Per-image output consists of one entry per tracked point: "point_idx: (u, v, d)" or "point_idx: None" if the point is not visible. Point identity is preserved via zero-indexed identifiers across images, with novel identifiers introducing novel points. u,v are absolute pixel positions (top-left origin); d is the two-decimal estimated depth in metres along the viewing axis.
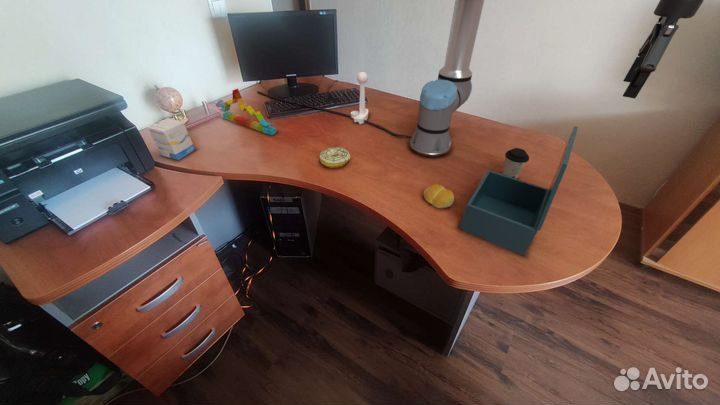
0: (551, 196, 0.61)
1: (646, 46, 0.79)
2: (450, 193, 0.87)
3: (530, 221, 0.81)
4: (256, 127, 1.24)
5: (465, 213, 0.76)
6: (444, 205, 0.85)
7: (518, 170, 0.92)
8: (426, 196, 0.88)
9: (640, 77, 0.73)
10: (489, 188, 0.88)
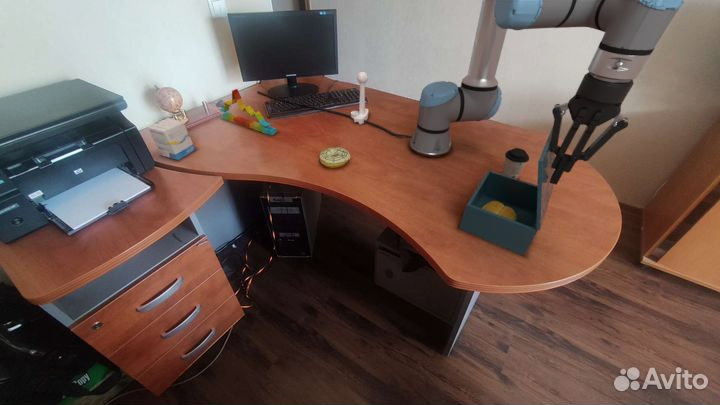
0: (538, 194, 0.63)
1: (580, 138, 0.61)
2: (512, 211, 0.80)
3: (530, 221, 0.81)
4: (256, 127, 1.23)
5: (465, 213, 0.76)
6: None
7: (518, 170, 0.92)
8: None
9: None
10: (489, 188, 0.88)
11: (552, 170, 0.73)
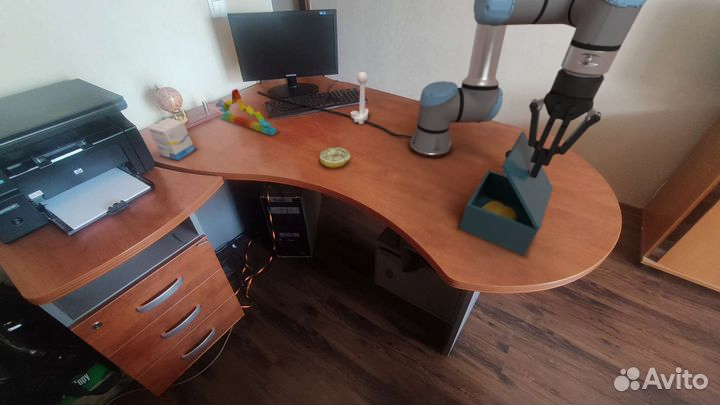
0: (518, 195, 0.65)
1: None
2: (512, 211, 0.80)
3: (530, 221, 0.81)
4: (256, 127, 1.23)
5: (465, 213, 0.76)
6: None
7: None
8: None
9: None
10: (489, 188, 0.88)
11: None
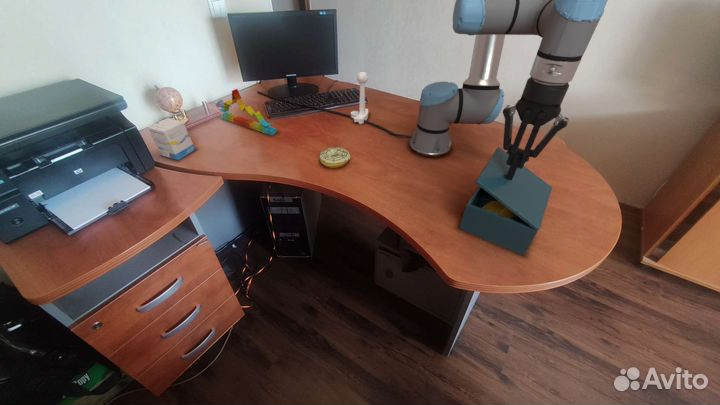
0: (503, 203, 0.69)
1: None
2: None
3: None
4: (256, 127, 1.23)
5: (465, 213, 0.76)
6: None
7: None
8: None
9: (509, 155, 0.71)
10: None
11: (527, 176, 0.77)
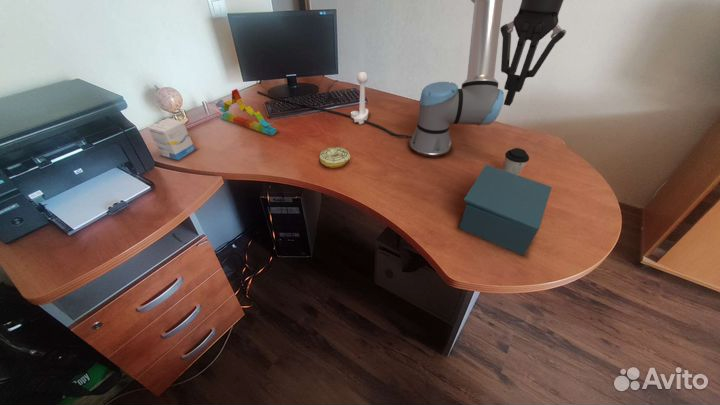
0: (495, 213, 0.71)
1: None
2: None
3: None
4: (256, 127, 1.23)
5: (465, 213, 0.76)
6: None
7: (518, 170, 0.92)
8: None
9: (507, 79, 0.71)
10: None
11: (520, 183, 0.79)
